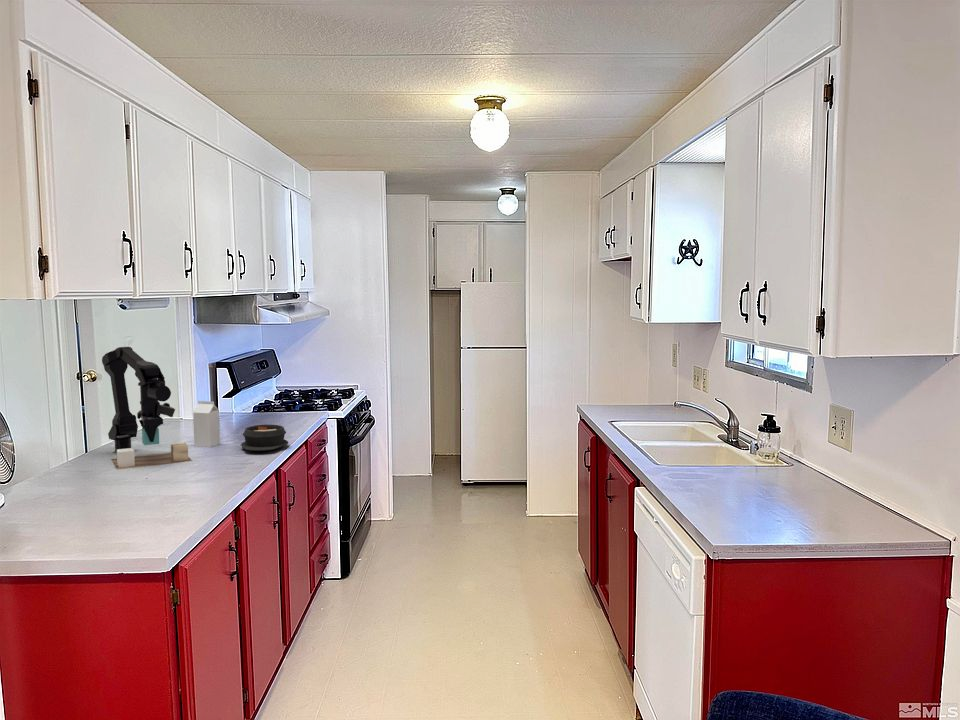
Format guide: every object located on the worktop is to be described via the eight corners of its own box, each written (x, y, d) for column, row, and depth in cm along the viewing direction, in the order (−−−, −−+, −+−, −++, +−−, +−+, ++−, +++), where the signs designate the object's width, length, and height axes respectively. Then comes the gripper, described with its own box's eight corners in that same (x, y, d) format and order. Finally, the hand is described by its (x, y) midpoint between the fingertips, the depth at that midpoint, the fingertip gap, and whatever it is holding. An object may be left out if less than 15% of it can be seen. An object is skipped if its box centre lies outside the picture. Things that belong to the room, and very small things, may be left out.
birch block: (171, 458, 265) (170, 444, 265) (185, 457, 268) (185, 442, 268) (173, 461, 261) (173, 446, 261) (188, 459, 264) (187, 445, 263)
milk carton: (210, 450, 285) (208, 403, 283) (194, 449, 286) (192, 402, 284) (220, 446, 292) (218, 400, 290) (204, 445, 293) (203, 399, 291)
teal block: (142, 442, 264) (141, 428, 264) (157, 441, 267) (156, 426, 266) (144, 445, 260) (143, 430, 259) (159, 443, 263) (158, 429, 262)
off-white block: (117, 464, 256) (116, 449, 255) (132, 462, 258) (132, 447, 258) (119, 467, 252) (118, 452, 251) (134, 465, 254) (134, 450, 254)
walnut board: (111, 462, 264) (110, 458, 264) (183, 454, 278) (182, 451, 278) (116, 472, 249) (116, 469, 249) (192, 464, 263) (192, 460, 262)
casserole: (247, 441, 301) (247, 422, 301) (292, 441, 304) (292, 421, 303) (234, 455, 277) (233, 434, 276) (283, 454, 279) (283, 433, 278)
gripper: (177, 400, 258) (178, 442, 260) (168, 393, 274) (169, 433, 275) (143, 402, 252) (145, 446, 254) (136, 395, 268) (137, 436, 269)
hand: (150, 440), depth 263 cm, fingers closed on teal block, 5 cm apart
